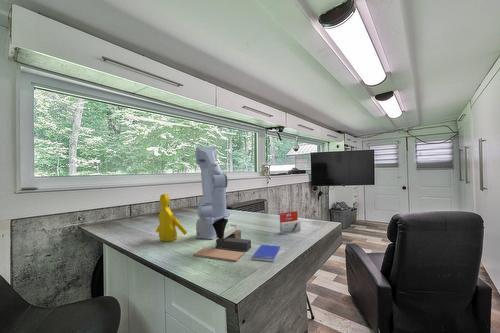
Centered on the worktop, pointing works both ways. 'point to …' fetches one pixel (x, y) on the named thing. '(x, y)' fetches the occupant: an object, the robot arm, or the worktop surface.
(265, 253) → the hard drive
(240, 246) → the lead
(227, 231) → the strap
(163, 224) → the figure statuette
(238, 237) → the block
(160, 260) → the worktop surface
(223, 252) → the mat
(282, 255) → the worktop surface
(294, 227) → the ink cartridge box
